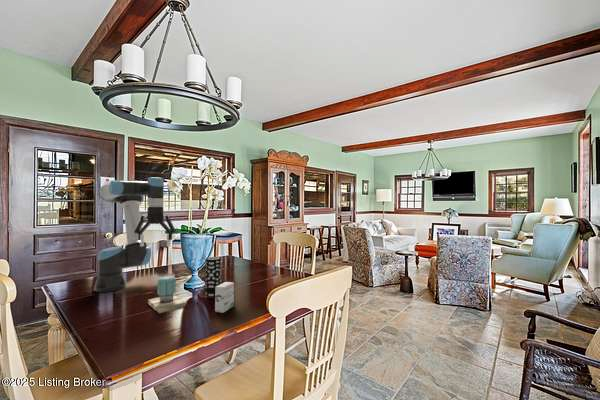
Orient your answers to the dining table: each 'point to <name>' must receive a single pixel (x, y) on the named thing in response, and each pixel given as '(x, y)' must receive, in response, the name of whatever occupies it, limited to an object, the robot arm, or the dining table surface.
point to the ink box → (224, 297)
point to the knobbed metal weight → (166, 298)
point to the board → (166, 304)
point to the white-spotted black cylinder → (212, 275)
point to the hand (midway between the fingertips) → (155, 246)
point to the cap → (166, 285)
